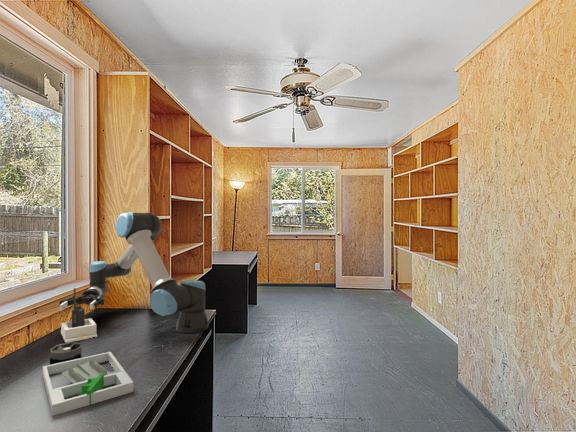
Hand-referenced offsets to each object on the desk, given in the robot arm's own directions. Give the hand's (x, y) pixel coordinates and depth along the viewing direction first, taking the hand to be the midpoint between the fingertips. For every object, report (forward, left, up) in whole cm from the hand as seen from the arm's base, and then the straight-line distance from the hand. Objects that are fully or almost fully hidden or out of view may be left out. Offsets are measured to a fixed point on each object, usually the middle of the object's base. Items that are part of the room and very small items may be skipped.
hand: (75, 307), depth 153 cm
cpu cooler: (-26, +7, -14) cm, 30 cm away
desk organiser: (-48, +4, -13) cm, 50 cm away
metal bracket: (-47, +3, -14) cm, 49 cm away
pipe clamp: (-58, +4, -14) cm, 60 cm away
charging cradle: (+4, -2, -13) cm, 14 cm away
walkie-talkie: (+4, -2, -12) cm, 13 cm away
